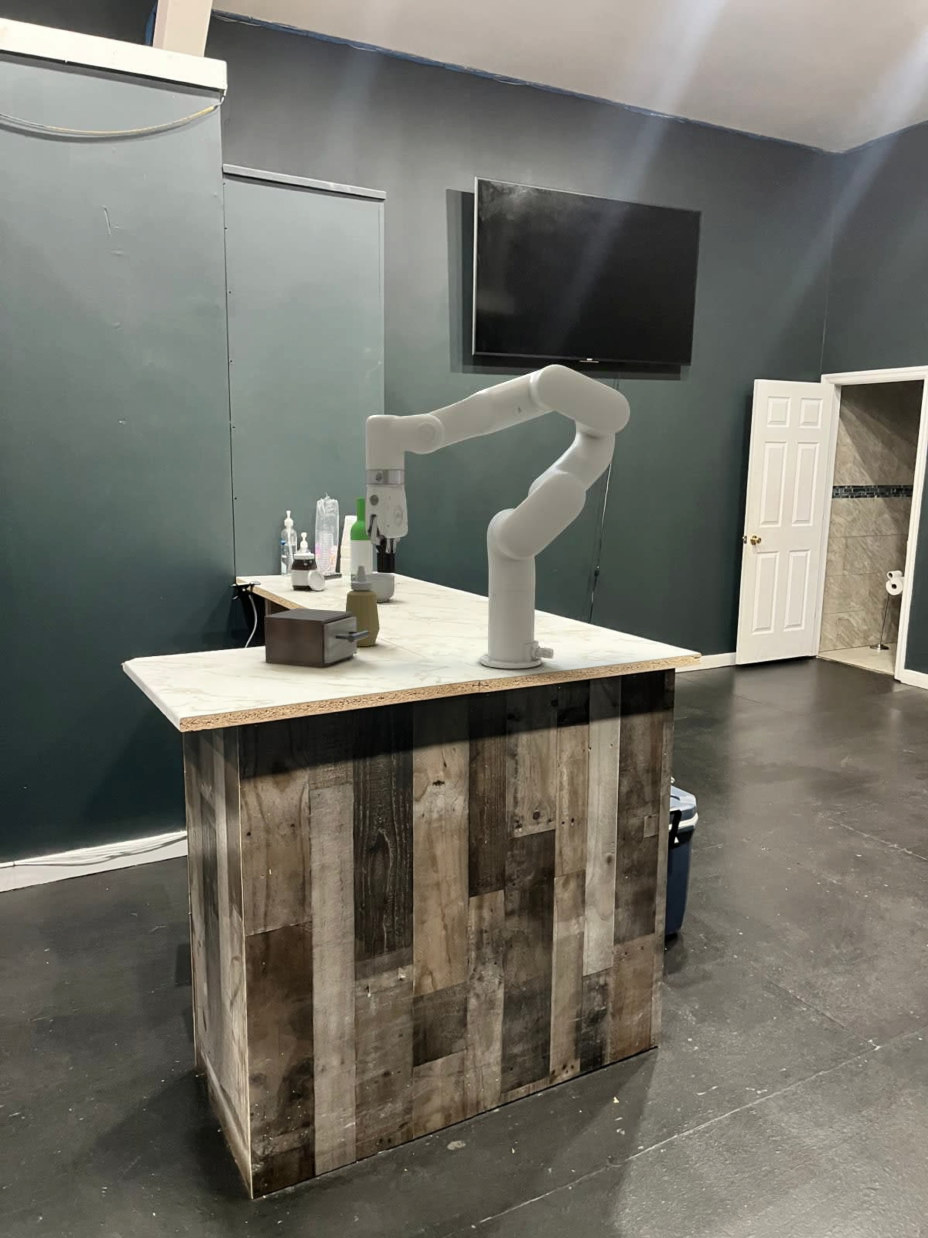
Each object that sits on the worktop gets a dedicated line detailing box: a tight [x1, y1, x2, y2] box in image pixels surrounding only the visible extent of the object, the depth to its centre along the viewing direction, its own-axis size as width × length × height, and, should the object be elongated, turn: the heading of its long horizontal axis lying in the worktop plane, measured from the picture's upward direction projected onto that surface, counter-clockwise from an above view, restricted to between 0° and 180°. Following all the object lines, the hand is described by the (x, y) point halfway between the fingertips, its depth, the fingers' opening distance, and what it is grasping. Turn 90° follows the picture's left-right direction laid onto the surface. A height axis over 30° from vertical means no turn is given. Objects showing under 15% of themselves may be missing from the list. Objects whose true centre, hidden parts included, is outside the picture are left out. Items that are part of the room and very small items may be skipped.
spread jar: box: [290, 553, 326, 592], centre depth 307 cm, size 12×11×12 cm
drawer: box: [324, 617, 369, 663], centre depth 191 cm, size 17×11×8 cm
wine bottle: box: [349, 497, 374, 583], centre depth 323 cm, size 8×8×30 cm
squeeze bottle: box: [345, 566, 380, 647], centre depth 208 cm, size 8×8×18 cm
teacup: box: [352, 572, 396, 603], centre depth 281 cm, size 14×11×8 cm
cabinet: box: [263, 607, 354, 668], centre depth 192 cm, size 14×13×10 cm
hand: (386, 572), depth 183 cm, fingers closed
